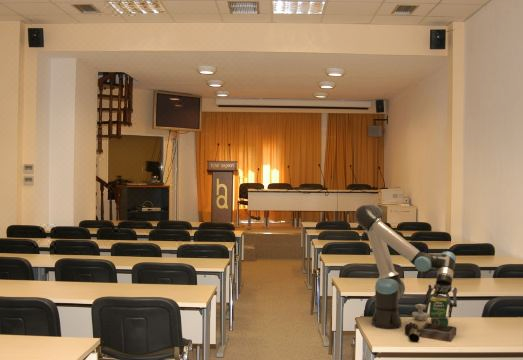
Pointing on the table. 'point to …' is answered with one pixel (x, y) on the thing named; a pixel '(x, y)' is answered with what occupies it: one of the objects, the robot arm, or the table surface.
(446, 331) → the gray square frame
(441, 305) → the coffee box
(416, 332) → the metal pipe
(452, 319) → the table surface
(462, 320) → the table surface
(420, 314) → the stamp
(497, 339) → the table surface
